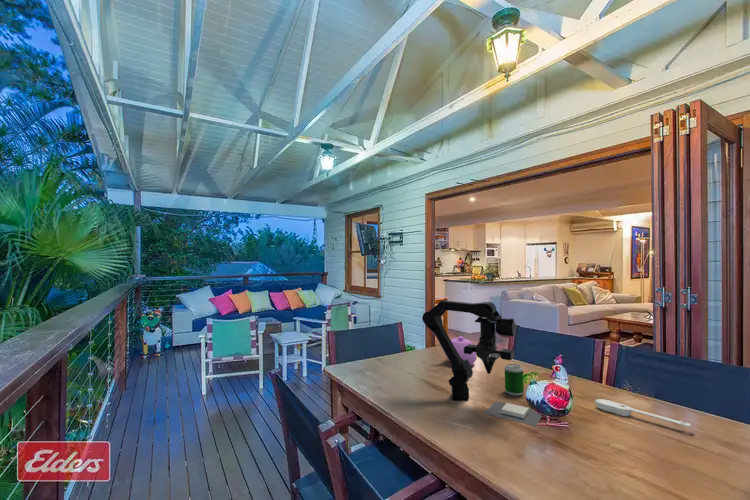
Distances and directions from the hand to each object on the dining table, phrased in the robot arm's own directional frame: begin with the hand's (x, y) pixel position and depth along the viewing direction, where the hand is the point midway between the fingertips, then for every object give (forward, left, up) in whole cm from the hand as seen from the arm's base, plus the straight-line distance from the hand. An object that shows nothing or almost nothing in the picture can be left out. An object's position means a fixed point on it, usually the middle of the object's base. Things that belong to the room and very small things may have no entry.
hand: (488, 373), depth 140 cm
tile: (+4, -5, -11) cm, 13 cm away
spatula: (+50, -8, -13) cm, 53 cm away
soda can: (+13, +13, -13) cm, 22 cm away
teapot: (-6, +57, -13) cm, 59 cm away
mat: (+7, -7, -12) cm, 16 cm away
